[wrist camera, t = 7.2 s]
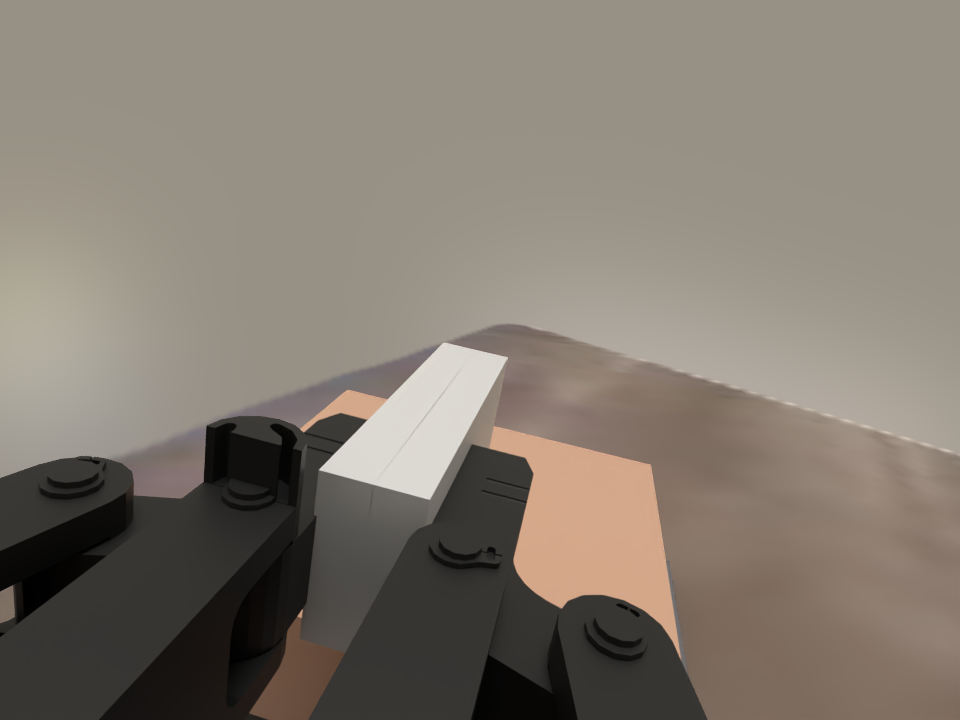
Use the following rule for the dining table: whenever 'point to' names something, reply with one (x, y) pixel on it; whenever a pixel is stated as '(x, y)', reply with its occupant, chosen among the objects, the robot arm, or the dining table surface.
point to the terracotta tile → (530, 547)
